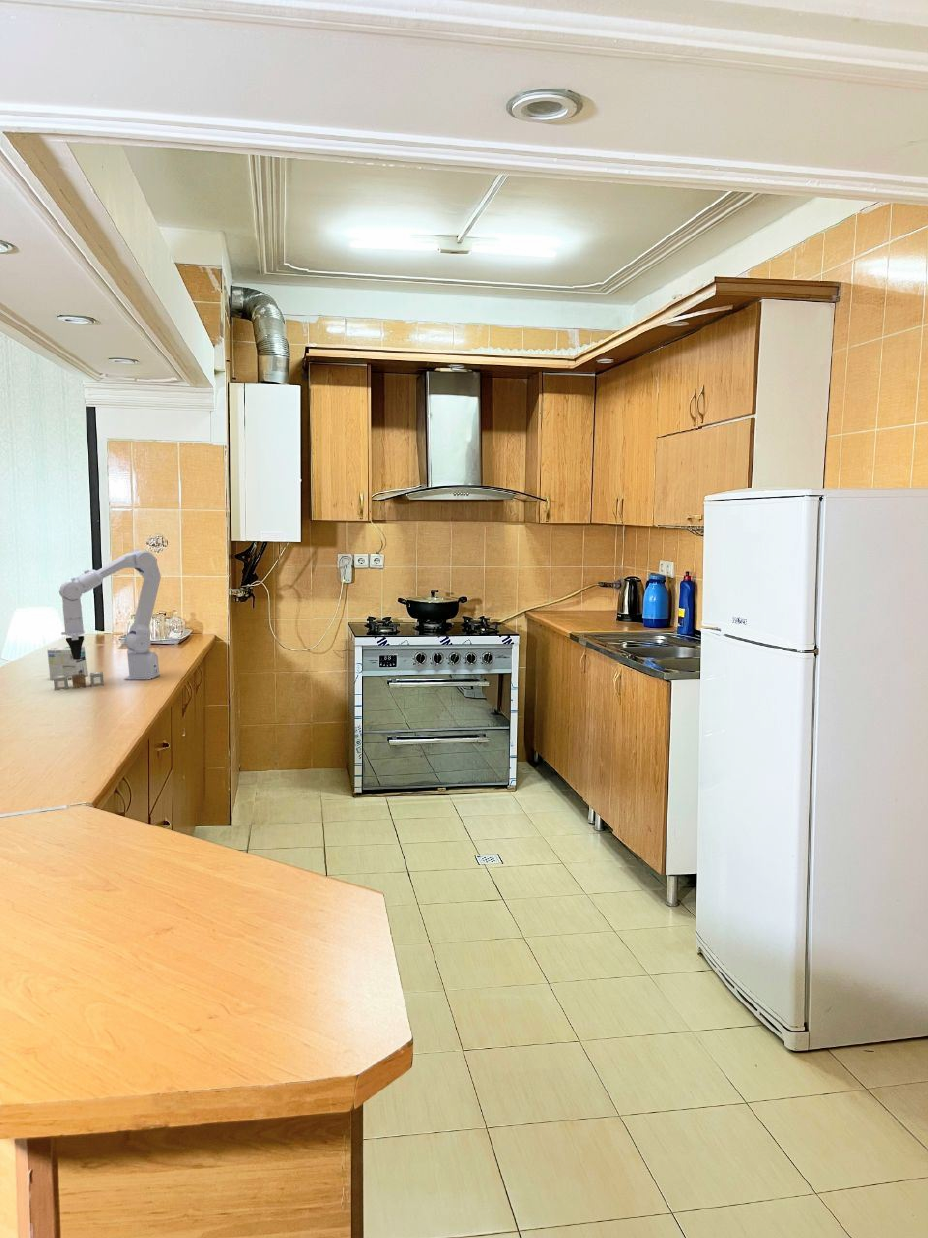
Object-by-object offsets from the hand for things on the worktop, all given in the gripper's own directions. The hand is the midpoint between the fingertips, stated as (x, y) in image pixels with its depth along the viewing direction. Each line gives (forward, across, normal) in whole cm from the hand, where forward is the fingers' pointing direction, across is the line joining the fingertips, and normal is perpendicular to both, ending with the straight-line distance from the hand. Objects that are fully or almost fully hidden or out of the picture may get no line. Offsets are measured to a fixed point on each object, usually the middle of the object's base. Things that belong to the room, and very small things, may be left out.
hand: (77, 658), depth 295 cm
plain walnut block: (+10, 0, 0) cm, 10 cm away
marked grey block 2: (+10, 0, +6) cm, 11 cm away
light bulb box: (+10, -20, -3) cm, 22 cm away
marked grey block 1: (+10, 0, -6) cm, 11 cm away
